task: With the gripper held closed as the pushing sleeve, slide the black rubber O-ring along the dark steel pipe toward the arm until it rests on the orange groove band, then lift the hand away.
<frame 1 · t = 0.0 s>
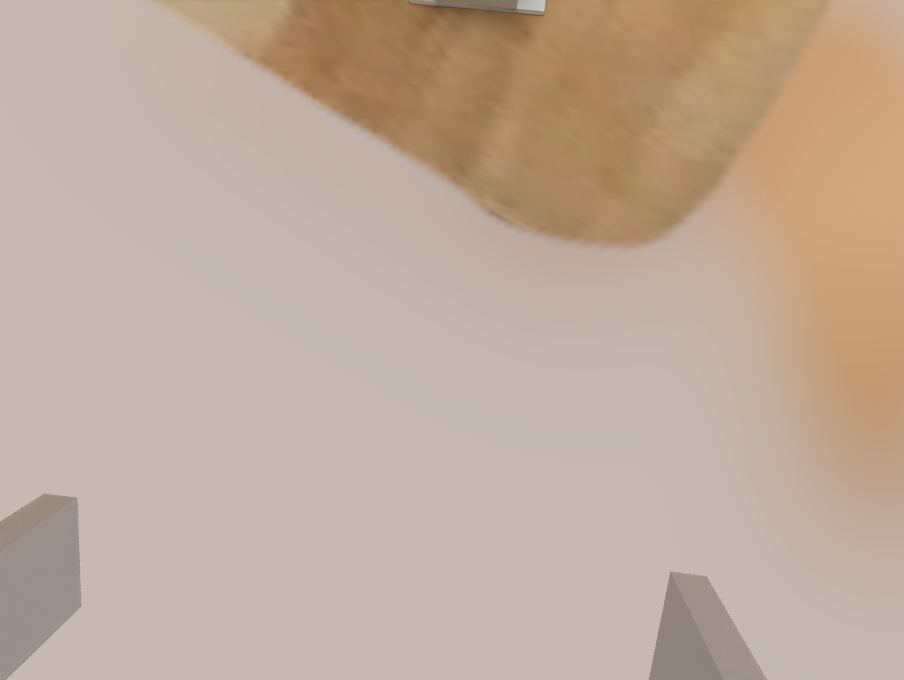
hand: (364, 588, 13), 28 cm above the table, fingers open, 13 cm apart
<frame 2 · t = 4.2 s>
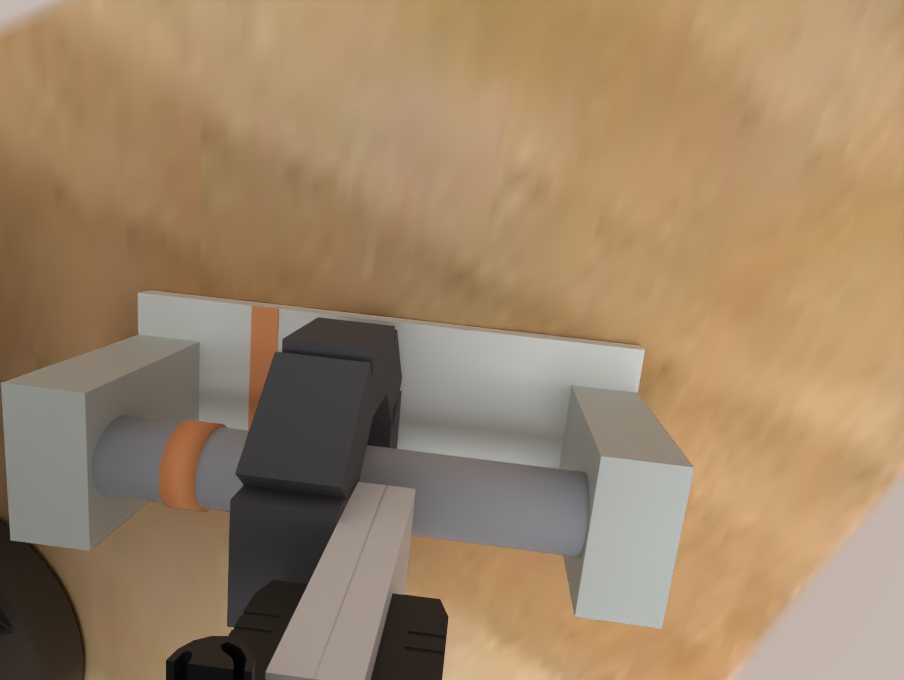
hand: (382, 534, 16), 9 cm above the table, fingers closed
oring: (334, 482, 18), point 6 cm above the table, slide at -0.3 cm, touching gripper
pipe rig: (381, 416, 24), on the table
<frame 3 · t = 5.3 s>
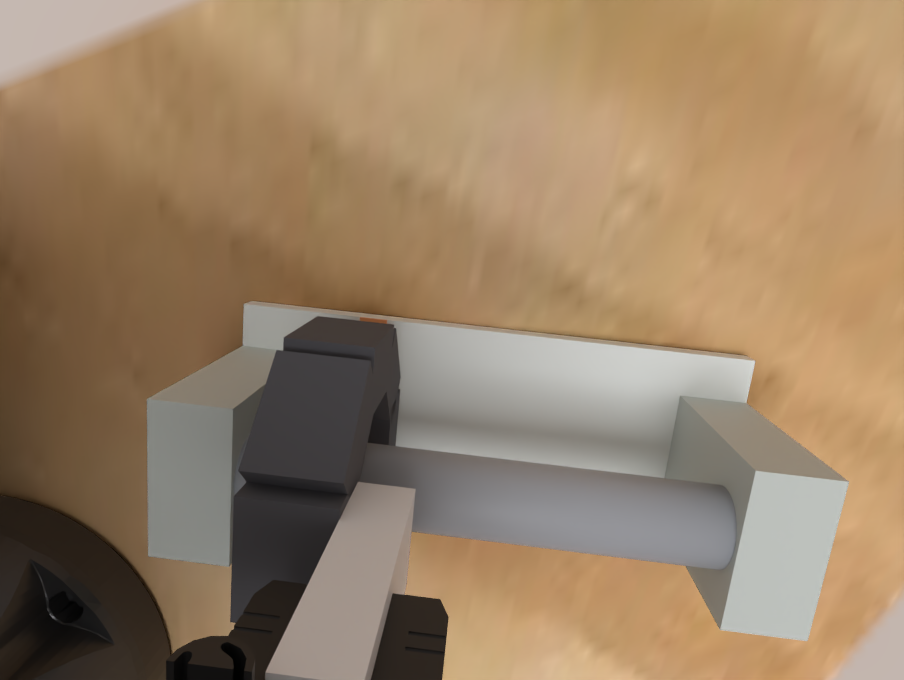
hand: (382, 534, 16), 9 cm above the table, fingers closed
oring: (334, 479, 18), point 6 cm above the table, slide at -4.4 cm, touching gripper
pipe rig: (483, 427, 24), on the table
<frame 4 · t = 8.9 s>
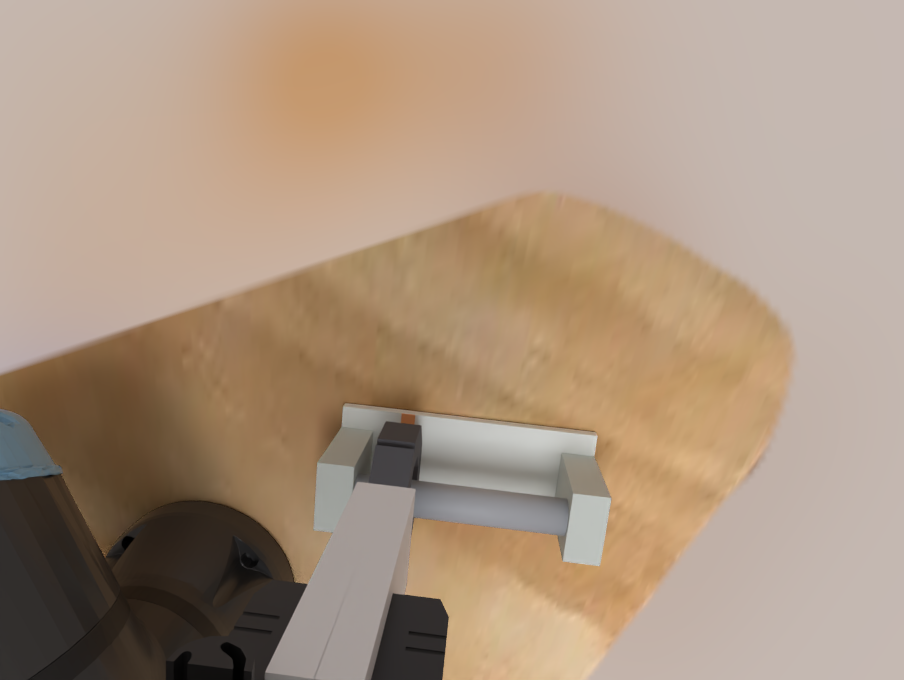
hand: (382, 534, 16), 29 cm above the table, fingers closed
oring: (394, 496, 41), point 6 cm above the table, slide at -4.4 cm
pipe rig: (464, 467, 47), on the table
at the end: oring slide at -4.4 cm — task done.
